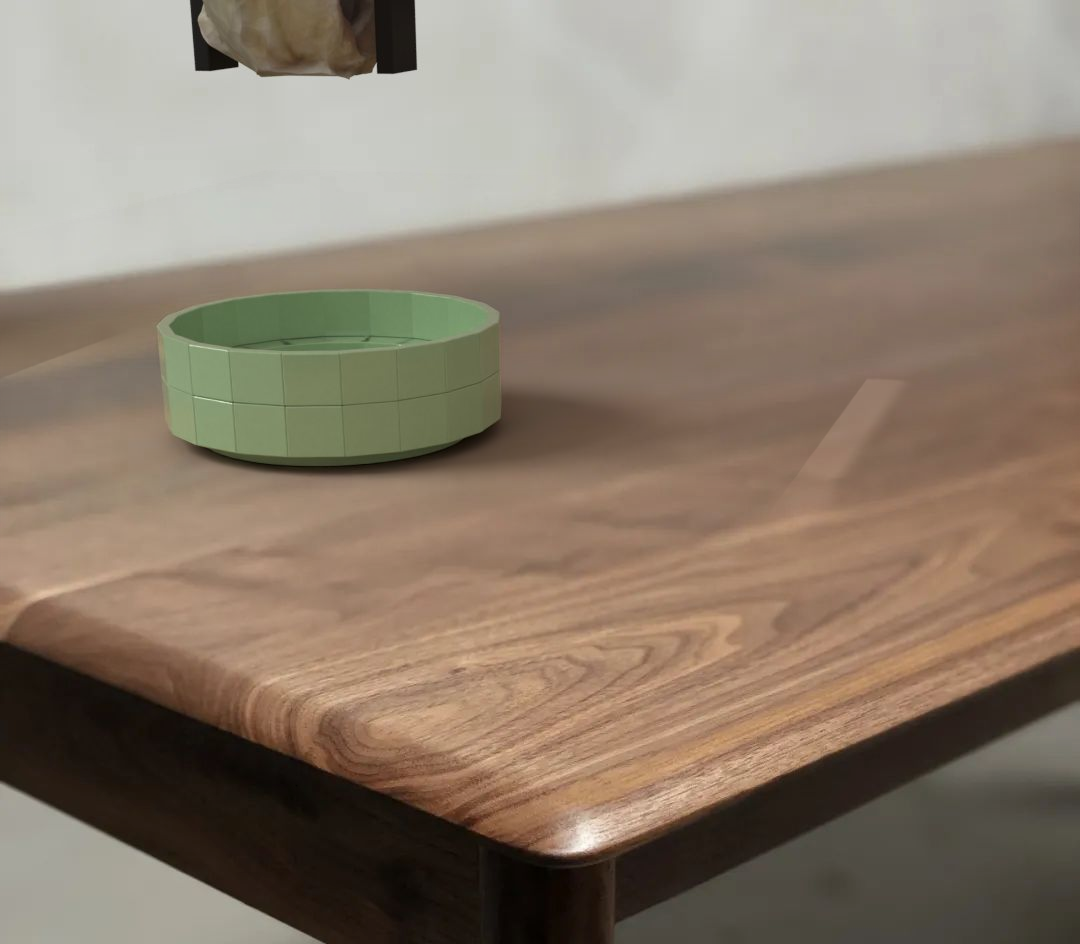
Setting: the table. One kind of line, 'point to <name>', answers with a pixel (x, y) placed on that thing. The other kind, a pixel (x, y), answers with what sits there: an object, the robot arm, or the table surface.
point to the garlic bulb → (293, 35)
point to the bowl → (331, 375)
